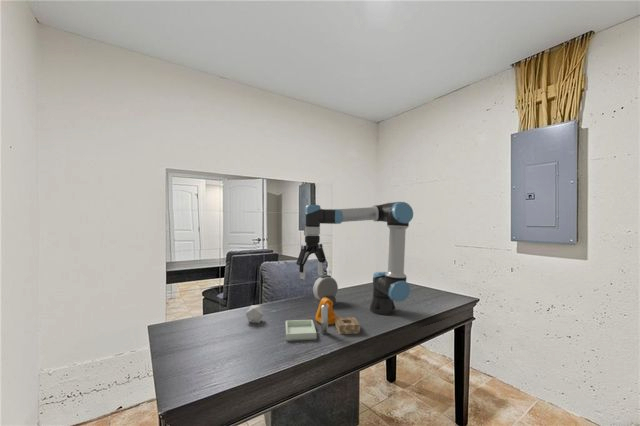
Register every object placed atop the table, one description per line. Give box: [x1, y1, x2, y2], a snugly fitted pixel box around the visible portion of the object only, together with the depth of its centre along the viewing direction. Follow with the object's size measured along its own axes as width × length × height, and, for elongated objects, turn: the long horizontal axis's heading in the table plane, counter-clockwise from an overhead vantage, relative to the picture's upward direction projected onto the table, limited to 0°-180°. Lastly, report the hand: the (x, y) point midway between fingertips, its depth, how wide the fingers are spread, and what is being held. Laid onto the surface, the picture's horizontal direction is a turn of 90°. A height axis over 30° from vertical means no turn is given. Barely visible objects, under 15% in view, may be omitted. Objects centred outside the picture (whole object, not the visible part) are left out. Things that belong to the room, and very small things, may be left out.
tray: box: [284, 319, 318, 342], centre depth 131 cm, size 14×16×3 cm
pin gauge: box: [320, 305, 329, 335], centre depth 131 cm, size 3×3×13 cm
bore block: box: [334, 316, 361, 335], centre depth 136 cm, size 10×10×4 cm
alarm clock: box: [312, 274, 339, 307], centre depth 177 cm, size 16×10×18 cm, turn 122°
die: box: [245, 304, 265, 324], centre depth 144 cm, size 8×9×10 cm
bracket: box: [314, 297, 340, 326], centre depth 146 cm, size 11×7×12 cm, turn 119°
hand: (311, 276), depth 139 cm, fingers open, 13 cm apart
